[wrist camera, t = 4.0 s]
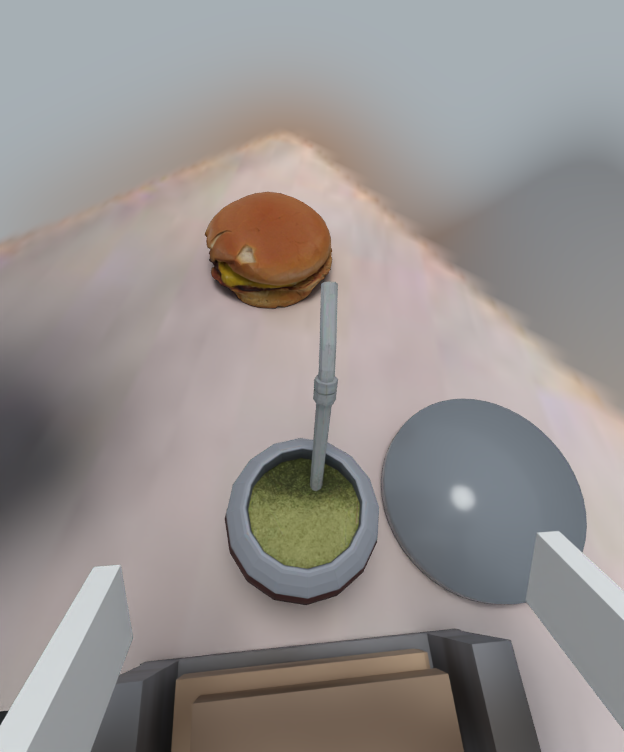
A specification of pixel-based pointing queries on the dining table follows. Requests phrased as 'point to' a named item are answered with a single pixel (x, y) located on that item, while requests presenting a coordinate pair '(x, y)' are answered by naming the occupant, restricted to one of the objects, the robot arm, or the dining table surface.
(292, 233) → the burger
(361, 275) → the dining table surface
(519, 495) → the slate coaster
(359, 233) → the dining table surface
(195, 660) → the offcut rack
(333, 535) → the mate gourd
